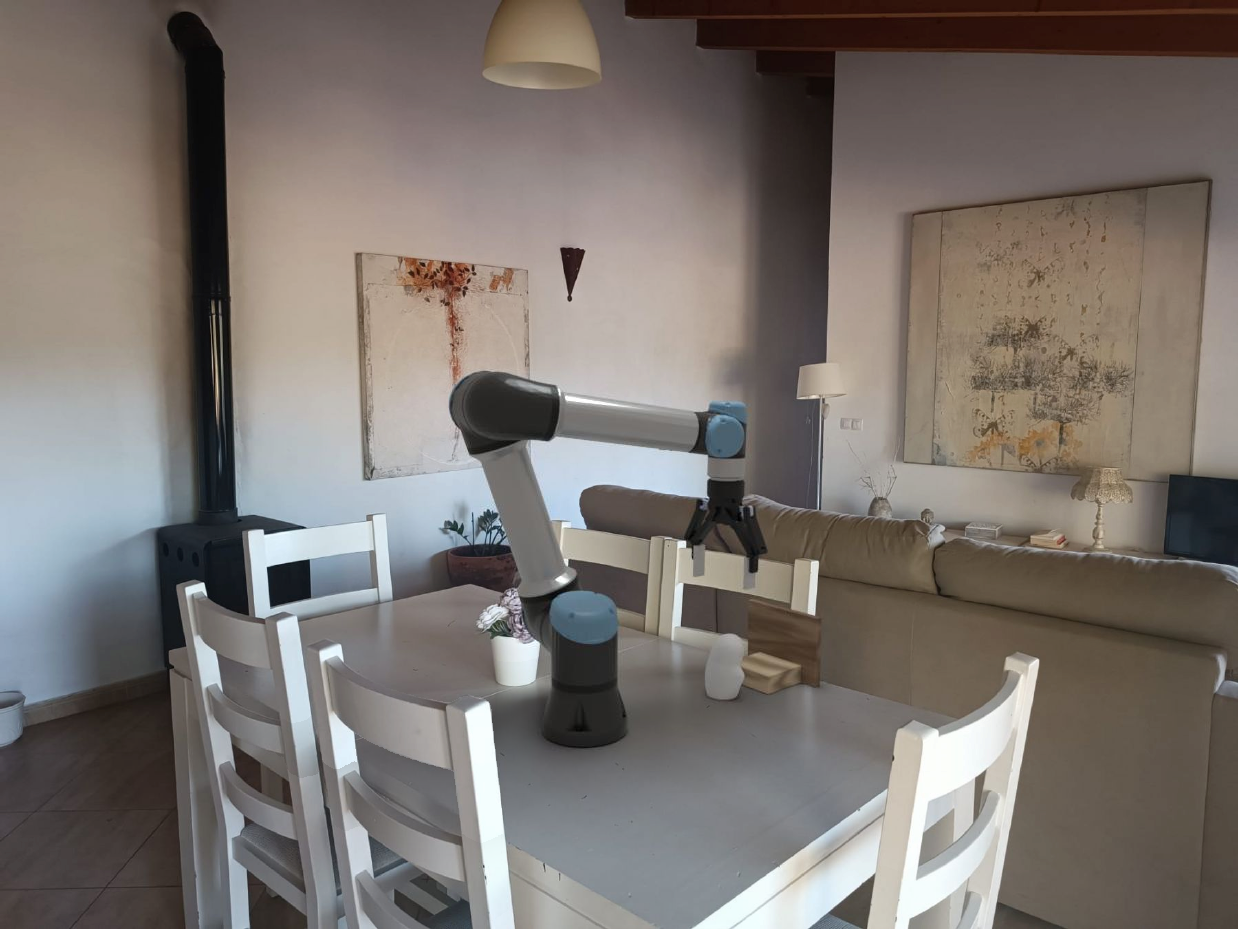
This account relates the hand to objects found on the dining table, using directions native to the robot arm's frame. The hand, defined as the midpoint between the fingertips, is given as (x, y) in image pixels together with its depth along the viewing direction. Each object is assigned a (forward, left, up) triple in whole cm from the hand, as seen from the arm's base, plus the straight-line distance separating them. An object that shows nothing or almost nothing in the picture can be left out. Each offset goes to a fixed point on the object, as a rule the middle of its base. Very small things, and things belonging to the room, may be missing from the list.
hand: (723, 582), depth 175 cm
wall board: (+6, -7, -20) cm, 22 cm away
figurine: (-6, -7, -20) cm, 22 cm away
